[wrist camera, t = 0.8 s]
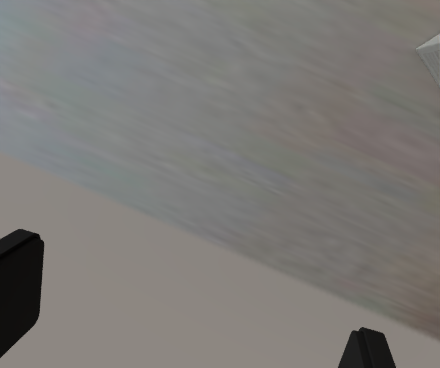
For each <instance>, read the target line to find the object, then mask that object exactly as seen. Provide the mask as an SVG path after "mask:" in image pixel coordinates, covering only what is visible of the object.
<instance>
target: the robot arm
mask: <svg viewBox="0 0 440 368" xmlns="http://www.w3.org/2000/svg"><path fill="white" fill-rule="evenodd" d="M43 255H44V242H43V240H41V239H40V235H39V234H37V233H33V232H30V231H26V230H23V229H18V230H16V231H14V232H12V233H10V234H9V235H7V236H5V237H3V238H2V239H0V358H1V357H2V356H3V355H4V354H5V353H6V352H7V351H8V350H9V349H10V348H11V347H12V346H13V345H14V344H15V343H16V342H17V341H18V340H19V339H20V338H21V337H22V336H23V335H24V334H26V333H27V332H28V331H29V330H30V329H31V328H32V327H33V326H34V325H35V323H36V321H37V320H38V317H39V313H40V299H41V284H42V270H43V269H42V268H43ZM338 368H396V366H395V363H394V361H393V358H392V355H391V352H390V349H389V346H388V344H387V341H386V338H385V335H384V334H383V333H381V332H378V331H374V330H371V329H367V328H364V327H362V328H360V329H359V331H352V332H351V334H350V337H349V340H348V343H347V345H346V348H345V350H344V353H343V356H342V358H341V361H340V363H339V366H338Z"/></svg>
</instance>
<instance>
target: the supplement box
mask: <svg viewBox="0 0 440 368" xmlns="http://www.w3.org/2000/svg"><path fill="white" fill-rule="evenodd" d="M416 51H417V53H418V54H419V56H420V57H421V59H422V60H423V62H424V64H425V65H426V67H427V68H428V70H429V72H430V73H431V75H432V76H433V78H434V80H435V81H436V83H437V85H438V86H439V88H440V34H438V35H437V36H435V37H434V38H432V39H431V40H429V41H427V42H426V43H424V44H423V45H421V46H419V47H418V48H416Z"/></svg>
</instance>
